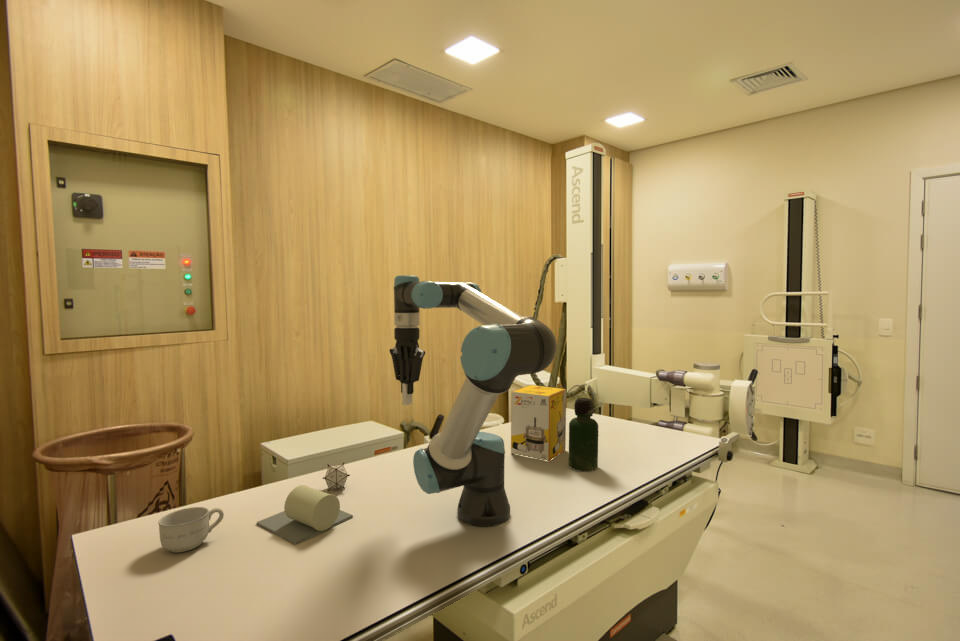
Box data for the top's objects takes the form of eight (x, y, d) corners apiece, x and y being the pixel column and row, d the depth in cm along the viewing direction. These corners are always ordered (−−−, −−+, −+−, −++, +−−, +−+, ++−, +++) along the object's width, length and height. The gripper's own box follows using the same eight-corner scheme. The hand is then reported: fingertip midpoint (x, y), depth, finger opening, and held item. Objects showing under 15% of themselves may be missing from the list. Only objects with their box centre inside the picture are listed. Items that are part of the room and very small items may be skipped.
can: (342, 492, 131) (313, 482, 137) (315, 496, 123) (286, 486, 130) (336, 527, 130) (307, 516, 136) (309, 533, 122) (279, 521, 128)
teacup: (156, 562, 112) (155, 529, 111) (162, 541, 121) (161, 510, 121) (223, 548, 118) (223, 516, 118) (224, 528, 128) (223, 499, 127)
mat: (352, 517, 135) (352, 515, 134) (295, 544, 120) (295, 542, 120) (313, 501, 145) (313, 499, 145) (256, 524, 130) (256, 522, 130)
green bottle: (565, 469, 172) (566, 401, 170) (571, 460, 181) (572, 395, 180) (595, 474, 168) (596, 403, 166) (599, 464, 177) (600, 397, 176)
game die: (339, 502, 153) (339, 484, 147) (316, 490, 154) (315, 473, 148) (354, 480, 160) (355, 462, 154) (332, 469, 161) (333, 451, 155)
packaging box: (565, 450, 193) (566, 389, 192) (548, 462, 179) (549, 396, 178) (529, 443, 202) (529, 384, 200) (510, 454, 188) (511, 391, 187)
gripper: (382, 326, 145) (383, 403, 146) (414, 328, 137) (414, 409, 138) (400, 325, 151) (400, 399, 152) (431, 327, 143) (431, 404, 145)
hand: (407, 404), depth 145 cm, fingers closed
